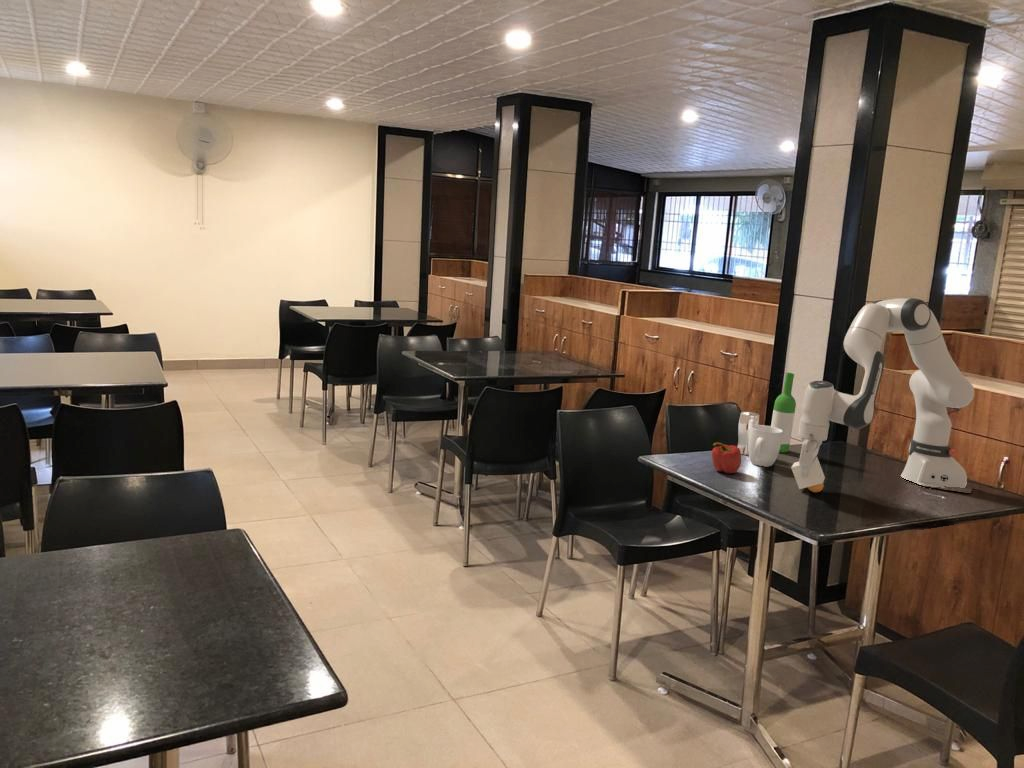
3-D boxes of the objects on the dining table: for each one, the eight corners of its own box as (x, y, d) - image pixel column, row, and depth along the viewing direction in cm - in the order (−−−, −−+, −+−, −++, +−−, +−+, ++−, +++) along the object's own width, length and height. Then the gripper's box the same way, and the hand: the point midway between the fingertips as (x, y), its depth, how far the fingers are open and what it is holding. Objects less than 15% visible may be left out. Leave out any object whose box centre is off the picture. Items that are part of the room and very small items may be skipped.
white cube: (825, 477, 263) (816, 456, 263) (822, 483, 256) (814, 461, 256) (802, 483, 266) (794, 462, 266) (799, 489, 259) (791, 467, 260)
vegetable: (716, 476, 269) (720, 446, 267) (701, 466, 279) (705, 438, 277) (745, 476, 271) (750, 447, 270) (730, 467, 281) (734, 439, 280)
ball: (806, 476, 264) (809, 491, 264) (804, 479, 259) (808, 495, 260) (822, 474, 262) (825, 489, 262) (820, 477, 257) (824, 492, 257)
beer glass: (756, 456, 300) (762, 416, 297) (737, 454, 300) (743, 414, 297) (750, 451, 307) (756, 412, 304) (732, 449, 307) (738, 410, 304)
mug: (770, 473, 278) (775, 436, 276) (738, 466, 284) (743, 429, 282) (780, 464, 291) (786, 429, 289) (749, 458, 297) (755, 423, 294)
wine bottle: (792, 453, 310) (805, 375, 304) (774, 453, 308) (787, 374, 302) (780, 447, 317) (792, 371, 312) (763, 447, 315) (775, 370, 309)
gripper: (820, 440, 248) (812, 483, 251) (826, 428, 267) (819, 469, 269) (798, 436, 251) (791, 479, 254) (806, 424, 269) (799, 465, 272)
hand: (805, 474), depth 262 cm, fingers closed on white cube, 7 cm apart
